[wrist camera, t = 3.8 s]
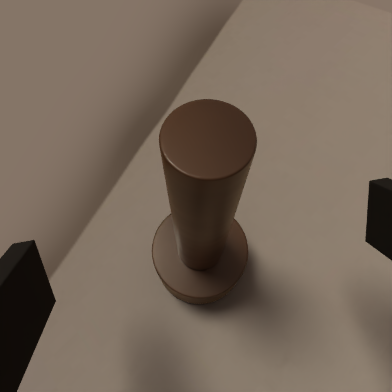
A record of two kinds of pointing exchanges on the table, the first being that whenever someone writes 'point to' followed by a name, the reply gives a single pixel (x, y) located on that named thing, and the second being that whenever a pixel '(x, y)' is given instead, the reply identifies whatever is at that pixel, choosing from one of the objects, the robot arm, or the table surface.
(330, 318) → the table surface
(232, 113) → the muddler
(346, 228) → the table surface
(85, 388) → the table surface
